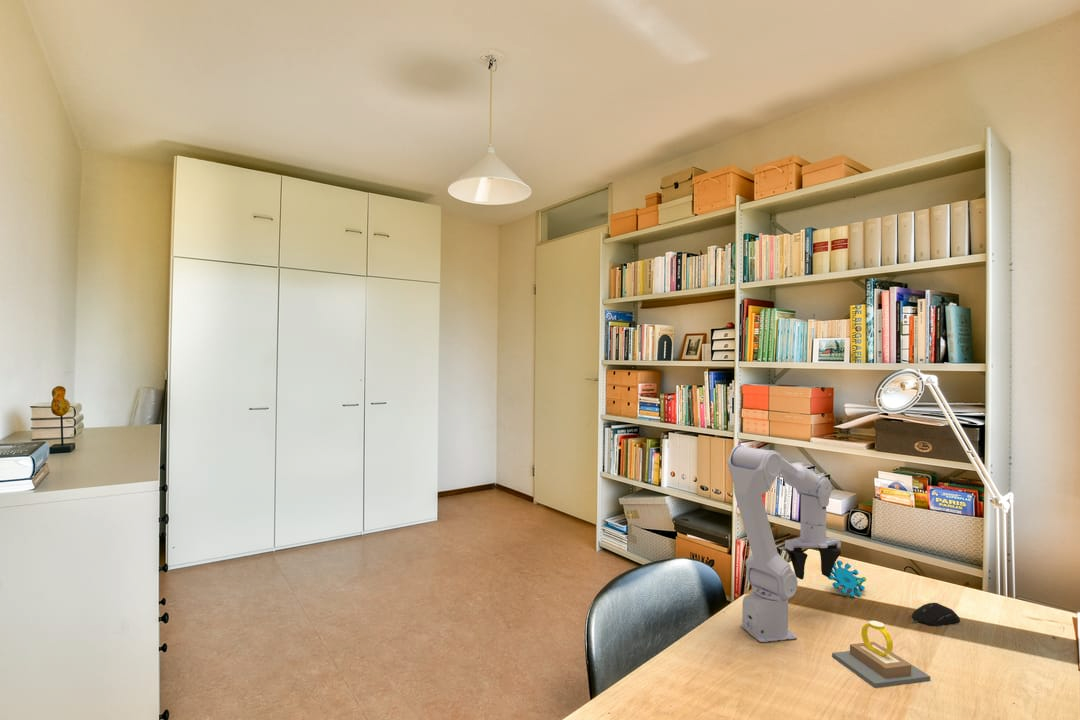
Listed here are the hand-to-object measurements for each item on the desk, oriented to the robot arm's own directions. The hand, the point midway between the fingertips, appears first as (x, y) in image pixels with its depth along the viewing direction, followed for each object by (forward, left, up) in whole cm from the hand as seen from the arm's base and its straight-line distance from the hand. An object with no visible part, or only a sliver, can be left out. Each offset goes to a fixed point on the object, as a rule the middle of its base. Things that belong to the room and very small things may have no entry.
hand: (812, 576), depth 131 cm
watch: (-3, -22, -7) cm, 23 cm away
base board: (-3, -23, -9) cm, 25 cm away
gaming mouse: (+27, -8, -10) cm, 30 cm away
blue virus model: (+19, +10, -10) cm, 24 cm away
